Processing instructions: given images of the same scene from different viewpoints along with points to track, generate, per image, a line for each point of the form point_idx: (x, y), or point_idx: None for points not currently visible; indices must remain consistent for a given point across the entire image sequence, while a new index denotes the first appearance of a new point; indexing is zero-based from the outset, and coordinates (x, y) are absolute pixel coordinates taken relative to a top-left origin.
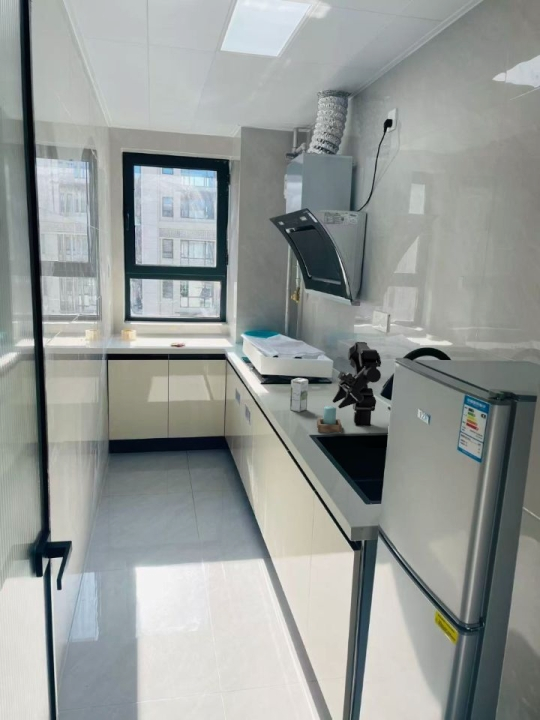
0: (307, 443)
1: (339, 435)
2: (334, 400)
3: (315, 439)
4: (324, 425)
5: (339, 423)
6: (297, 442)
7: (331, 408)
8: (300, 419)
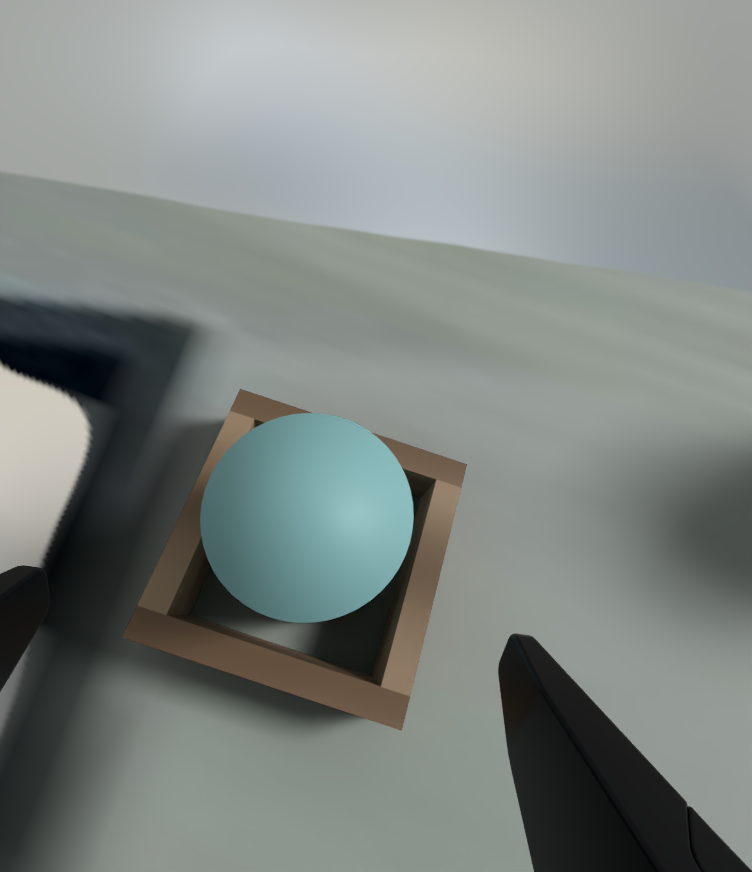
0: (6, 241)
1: (82, 576)
2: (520, 680)
3: (69, 327)
4: (213, 445)
5: (220, 646)
6: (63, 193)
7: (267, 519)
8: (635, 414)
